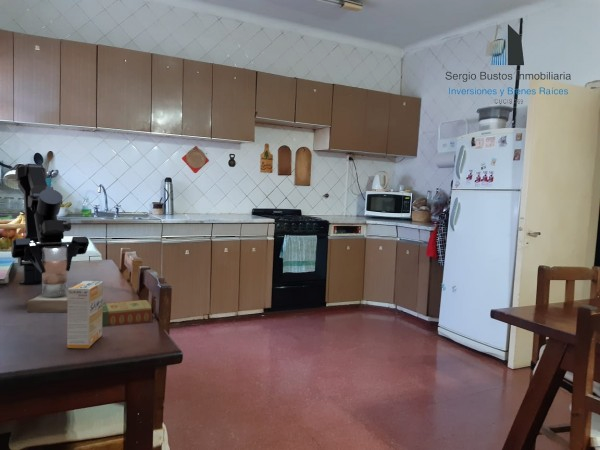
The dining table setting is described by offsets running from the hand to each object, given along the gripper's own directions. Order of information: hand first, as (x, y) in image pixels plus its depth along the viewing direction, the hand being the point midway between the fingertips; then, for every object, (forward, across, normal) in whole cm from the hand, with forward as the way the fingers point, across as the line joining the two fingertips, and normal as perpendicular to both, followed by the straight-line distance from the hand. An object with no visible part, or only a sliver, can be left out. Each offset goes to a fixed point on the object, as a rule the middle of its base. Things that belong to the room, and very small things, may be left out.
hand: (55, 271), depth 122 cm
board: (+6, 0, +8) cm, 10 cm away
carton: (+21, +11, -6) cm, 24 cm away
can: (+4, 0, +6) cm, 7 cm away
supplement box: (+29, 0, -15) cm, 33 cm away
